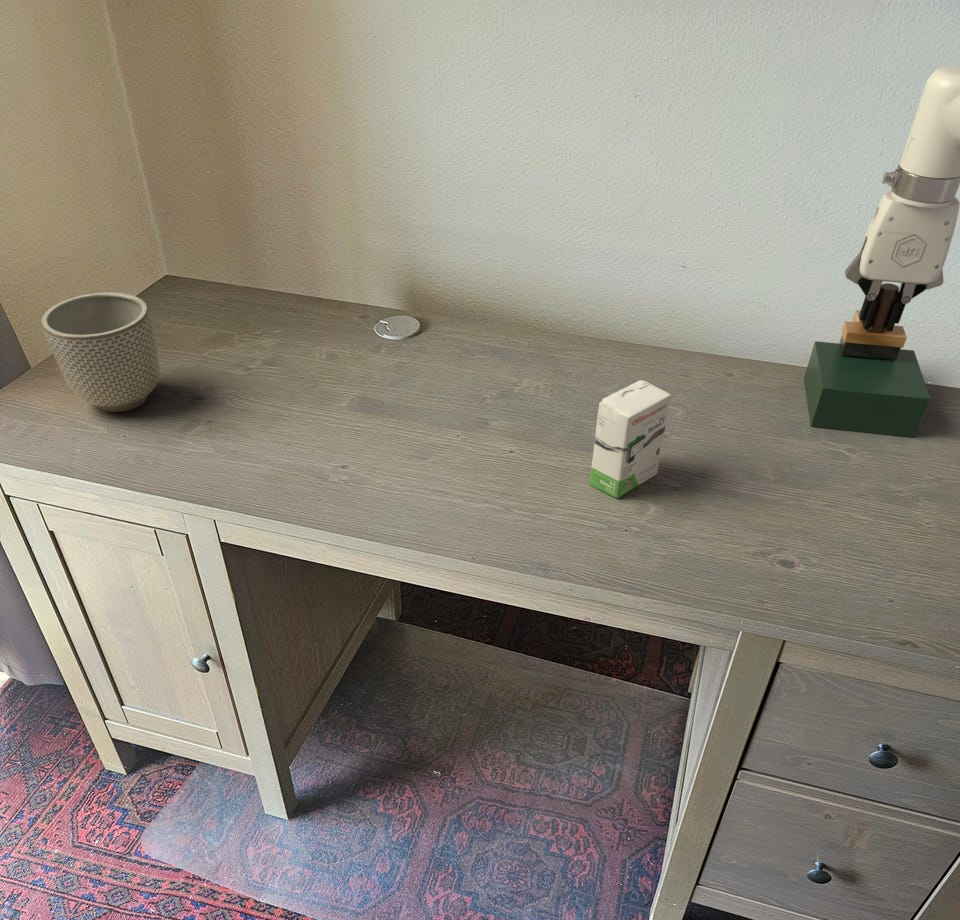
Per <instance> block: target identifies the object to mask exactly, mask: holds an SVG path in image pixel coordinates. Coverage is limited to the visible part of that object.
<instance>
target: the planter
mask: <svg viewBox="0 0 960 920" xmlns="http://www.w3.org/2000/svg"><path fill="white" fill-rule="evenodd" d="M40 323H41V328H42V332H43V335H44V336H45V340H46V343H47V344H48V346H49V348H50V351H51V354H52V355H53V358H54V359H55V362H56V365H57V366H58V368H59V370H60V372H61V374H62V376H63V378H64V380H65V381H66V383H67V385H68V386H69V388H70V390H71V392H73V393H74V394H75V396H76V397H78V398H79V399H80V400H82V401H84V402H86V403H88V404H91V405H94V406H96V407H98V408H99V409H101V410H103V411H105V412H108V413H123V412H124V413H125V412H129V411H132V410H134V409H137V408H139V407H140V406H142V405H143V404H144V403H145V402H146V401H147V398H148V396H149V395H150V394H151V393H152V392H153V391H154V390H155V388H156V387H157V385H158V383H159V380H160V374H161V372H160V371H161V369H160V368H161V367H160V357H159V351H158V345H157V344H158V343H157V340H156V334H155V330H154V324H153V319H152V316H151V312H150V310H149V307H148V305H147V303H146V302H145V301H144V300H143V299H141V298H140V297H138V296H136V295H133V294H129V293H124V292H115V291H114V292H113V291H112V292H111V291H110V292H109V291H107V292H106V291H104V292H103V291H102V292H93V293H87V294H81V295H77V296H74V297H70V298H67V299H65V300H62V301H60V302H58V303H56V304H54V305H53V306H51V307H50V308H48V309H47V310H46V311H45V313H43V315H42V317H41V320H40Z"/></svg>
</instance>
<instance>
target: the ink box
mask: <svg viewBox="0 0 960 920" xmlns="http://www.w3.org/2000/svg"><path fill="white" fill-rule="evenodd" d="M671 398H672V394H671V393H669V392H667V391H665V390H663V389H661V388H659V387H657V386H655V385H653V384H652V383H649V382H648V381H646V380H641V379H640V380H637V381H635V382H634V383H631V384H629V385H628V386H626V387H624V388H622V389H619V390H618V391H616V392H614V393H612V394H610V395H608V396H606V397H603V398H602V399H601V401H600V402H599V404H598V411H597V418H596V428H595V435H594V444H593V452H592V453H593V454H592V460H591V461H592V462H591V468H590V469H591V470H590V477H589V485H591V486H592V487H594V488H596V489H597V490H599V491H602V492H603V493H605V494H607V495H609V496H611V497H614V498H615V499H619V498H621V497H622V496H624V495H626V494H627V493H629V492H631V491H633V490H634V489H635V488H638V486H640V485H642V484H643V483H645V482H647V481H649V480H650V479H652V478H653V477H655V476H657V474H658V471H659V464H660V459H661V454H662V449H663V441H664V437H665V431H666V425H667V420H668V415H669V409H670V403H671Z"/></svg>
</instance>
